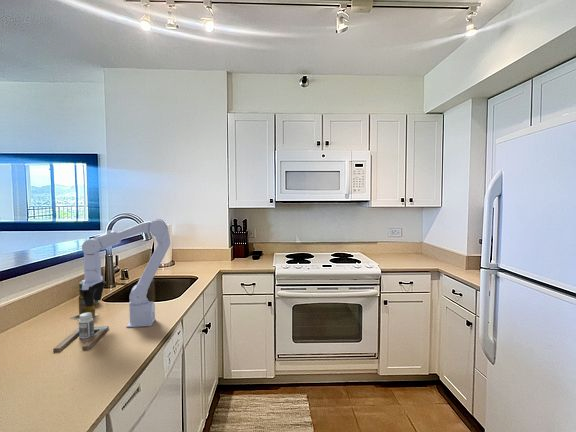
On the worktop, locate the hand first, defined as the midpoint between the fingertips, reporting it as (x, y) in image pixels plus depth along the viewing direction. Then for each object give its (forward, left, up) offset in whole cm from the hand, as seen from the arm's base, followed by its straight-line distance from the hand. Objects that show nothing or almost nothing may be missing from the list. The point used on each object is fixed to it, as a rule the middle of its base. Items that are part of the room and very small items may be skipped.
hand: (93, 303), depth 129 cm
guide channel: (0, +12, -10) cm, 16 cm away
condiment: (+10, -16, -11) cm, 22 cm away
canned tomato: (+16, -35, -11) cm, 40 cm away
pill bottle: (0, +7, -11) cm, 13 cm away
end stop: (0, +3, -10) cm, 11 cm away
